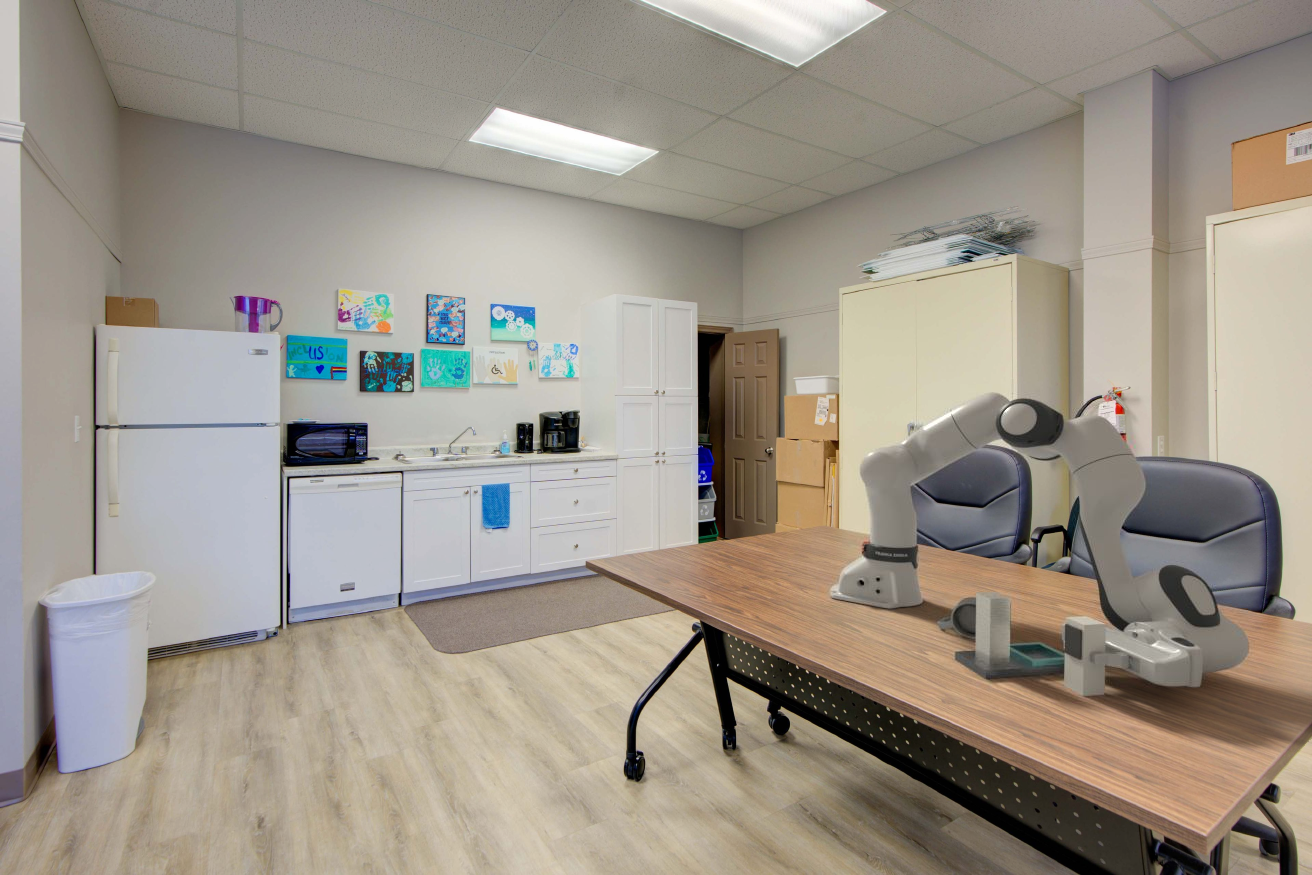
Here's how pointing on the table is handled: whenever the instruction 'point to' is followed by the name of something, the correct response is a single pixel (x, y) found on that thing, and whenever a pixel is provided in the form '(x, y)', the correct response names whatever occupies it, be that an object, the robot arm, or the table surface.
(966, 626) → the ceramic mug
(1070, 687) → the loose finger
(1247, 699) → the table surface
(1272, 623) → the table surface
